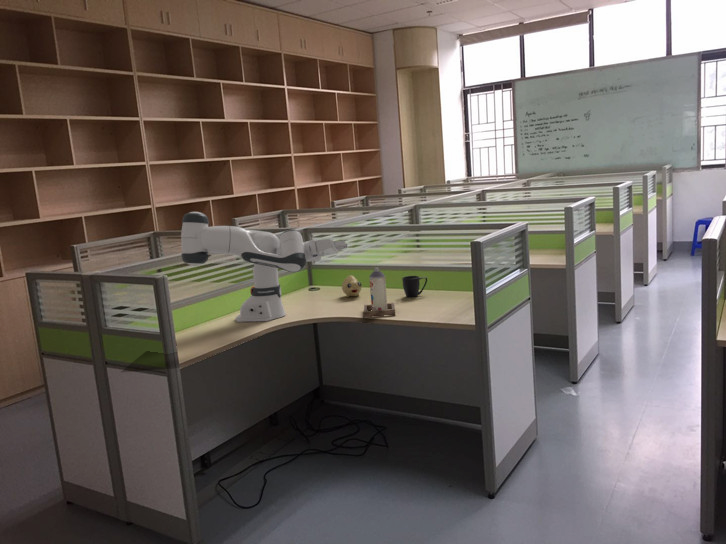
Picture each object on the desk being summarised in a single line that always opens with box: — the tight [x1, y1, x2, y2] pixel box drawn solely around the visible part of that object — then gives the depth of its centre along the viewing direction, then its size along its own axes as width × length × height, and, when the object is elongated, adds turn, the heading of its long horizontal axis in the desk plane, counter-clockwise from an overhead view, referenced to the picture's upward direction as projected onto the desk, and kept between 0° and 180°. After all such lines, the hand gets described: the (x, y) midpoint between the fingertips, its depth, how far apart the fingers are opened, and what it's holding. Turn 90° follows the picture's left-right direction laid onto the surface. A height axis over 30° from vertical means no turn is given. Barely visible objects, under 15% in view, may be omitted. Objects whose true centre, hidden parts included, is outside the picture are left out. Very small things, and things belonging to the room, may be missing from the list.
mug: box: [401, 275, 428, 299], centre depth 297 cm, size 8×12×10 cm
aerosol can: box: [369, 267, 389, 311], centre depth 268 cm, size 7×7×20 cm
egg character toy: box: [341, 274, 362, 298], centre depth 308 cm, size 10×12×11 cm
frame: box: [363, 302, 396, 318], centre depth 270 cm, size 13×13×2 cm
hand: (346, 244), depth 263 cm, fingers open, 8 cm apart
